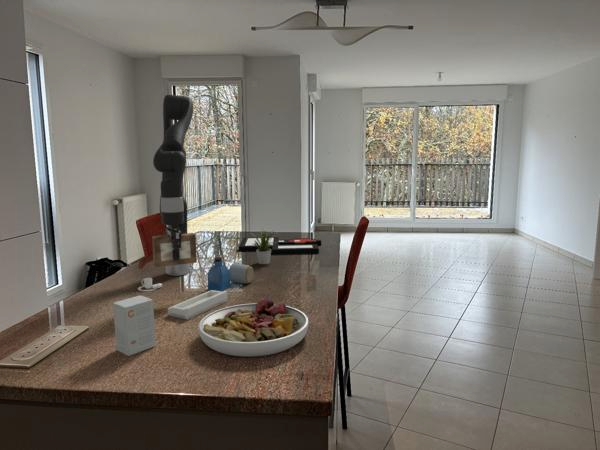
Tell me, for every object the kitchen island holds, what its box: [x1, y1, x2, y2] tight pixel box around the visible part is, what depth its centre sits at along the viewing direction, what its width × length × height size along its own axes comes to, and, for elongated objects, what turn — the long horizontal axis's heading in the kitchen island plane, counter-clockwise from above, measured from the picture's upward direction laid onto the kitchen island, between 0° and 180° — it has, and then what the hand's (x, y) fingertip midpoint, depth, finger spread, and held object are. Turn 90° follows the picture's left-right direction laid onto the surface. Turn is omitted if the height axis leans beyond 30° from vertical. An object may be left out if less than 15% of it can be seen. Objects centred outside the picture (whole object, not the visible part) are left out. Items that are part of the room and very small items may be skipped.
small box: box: [112, 295, 157, 357], centre depth 116 cm, size 8×6×13 cm
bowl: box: [198, 296, 309, 358], centre depth 123 cm, size 30×30×8 cm
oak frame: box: [151, 232, 197, 268], centre depth 155 cm, size 14×4×10 cm, turn 117°
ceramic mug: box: [228, 262, 255, 285], centre depth 178 cm, size 11×8×8 cm
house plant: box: [250, 228, 279, 265], centre depth 208 cm, size 14×14×16 cm
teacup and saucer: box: [137, 277, 163, 292], centre depth 171 cm, size 9×8×4 cm
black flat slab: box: [238, 236, 322, 255], centre depth 245 cm, size 36×3×45 cm
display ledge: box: [167, 290, 229, 320], centre depth 147 cm, size 8×20×4 cm, turn 152°
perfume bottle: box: [207, 256, 231, 292], centre depth 169 cm, size 6×6×12 cm
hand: (174, 258), depth 155 cm, fingers closed on oak frame, 4 cm apart
